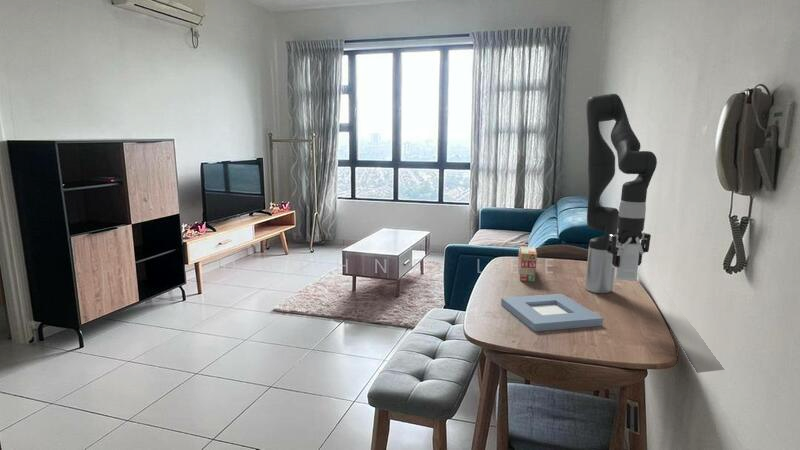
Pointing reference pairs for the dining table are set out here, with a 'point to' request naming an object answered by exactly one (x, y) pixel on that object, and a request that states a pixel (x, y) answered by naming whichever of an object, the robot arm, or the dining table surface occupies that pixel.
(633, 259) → the skincare box
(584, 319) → the base board
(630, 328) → the dining table surface
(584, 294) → the dining table surface
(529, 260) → the stack of blocks
